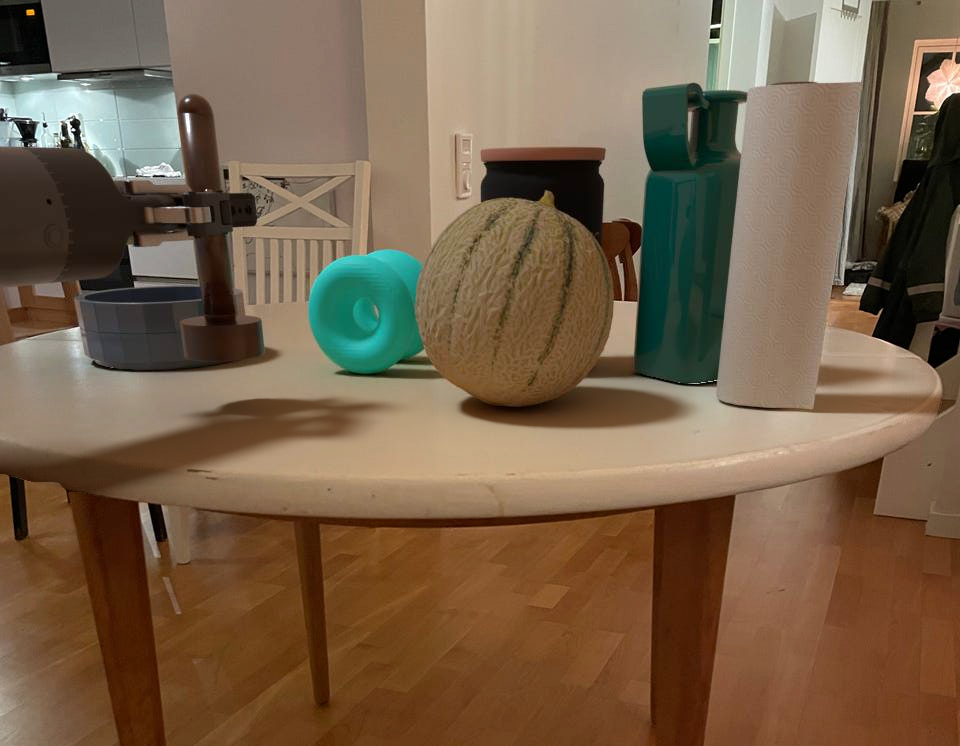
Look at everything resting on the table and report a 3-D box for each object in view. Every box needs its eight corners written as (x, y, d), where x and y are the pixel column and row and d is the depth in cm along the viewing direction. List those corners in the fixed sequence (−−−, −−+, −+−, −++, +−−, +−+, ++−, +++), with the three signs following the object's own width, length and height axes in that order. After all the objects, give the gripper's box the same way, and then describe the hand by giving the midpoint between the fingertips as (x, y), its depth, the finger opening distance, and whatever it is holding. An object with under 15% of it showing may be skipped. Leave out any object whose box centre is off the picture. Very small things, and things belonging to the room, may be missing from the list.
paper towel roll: (706, 393, 75) (736, 87, 65) (779, 392, 75) (820, 87, 65) (733, 413, 68) (771, 77, 59) (813, 412, 68) (864, 77, 59)
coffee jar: (512, 381, 79) (513, 146, 71) (463, 362, 88) (460, 150, 80) (617, 371, 83) (630, 146, 75) (561, 353, 92) (567, 150, 84)
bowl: (58, 371, 86) (44, 303, 83) (125, 344, 100) (115, 285, 97) (222, 372, 85) (213, 303, 82) (267, 344, 99) (260, 285, 96)
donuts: (307, 374, 84) (297, 255, 79) (352, 355, 92) (344, 248, 88) (410, 379, 81) (405, 257, 77) (446, 359, 90) (443, 248, 85)
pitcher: (691, 362, 87) (716, 93, 77) (760, 376, 81) (796, 85, 71) (611, 373, 82) (627, 89, 73) (677, 389, 76) (704, 79, 66)
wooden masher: (172, 361, 68) (132, 90, 60) (199, 347, 73) (165, 97, 65) (252, 362, 67) (223, 90, 60) (273, 348, 73) (248, 97, 65)
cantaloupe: (379, 407, 71) (367, 192, 64) (500, 378, 81) (501, 189, 74) (529, 437, 62) (534, 192, 56) (645, 401, 72) (660, 189, 65)
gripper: (84, 144, 50) (303, 150, 63) (-57, 148, 57) (167, 152, 70) (109, 290, 53) (312, 268, 66) (-27, 277, 60) (182, 259, 73)
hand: (237, 209), depth 68 cm, fingers closed on wooden masher, 2 cm apart
